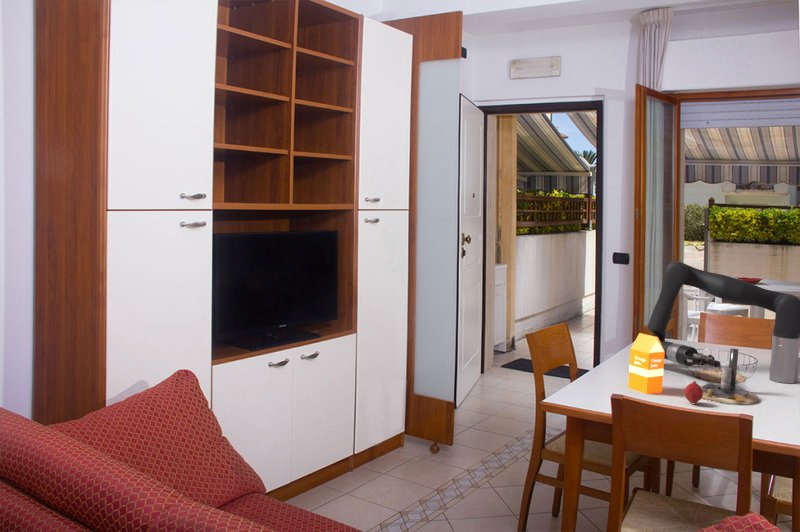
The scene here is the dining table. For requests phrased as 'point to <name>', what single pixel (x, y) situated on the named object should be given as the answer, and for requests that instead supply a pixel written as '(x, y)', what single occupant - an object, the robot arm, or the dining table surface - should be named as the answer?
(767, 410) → the dining table surface
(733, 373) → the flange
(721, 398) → the post stand
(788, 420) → the dining table surface
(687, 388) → the onion
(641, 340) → the orange juice
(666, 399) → the dining table surface
